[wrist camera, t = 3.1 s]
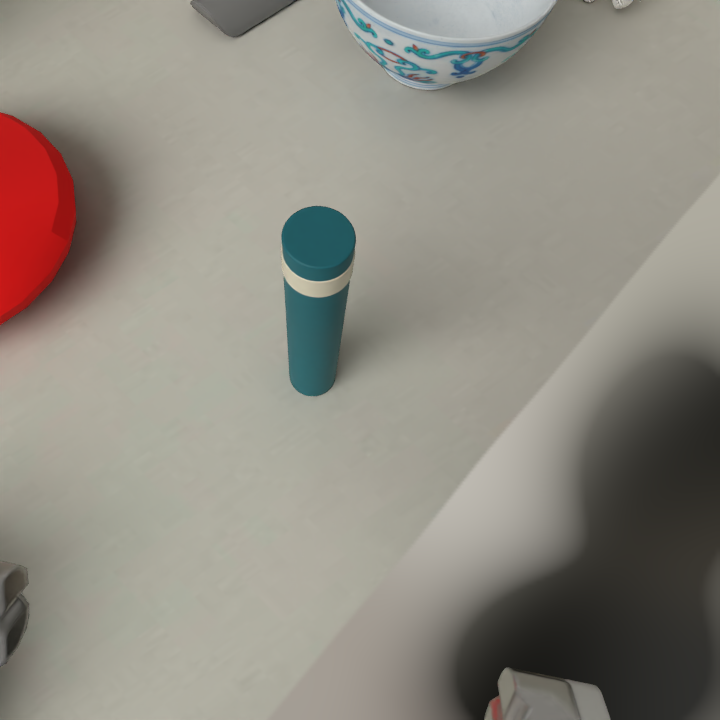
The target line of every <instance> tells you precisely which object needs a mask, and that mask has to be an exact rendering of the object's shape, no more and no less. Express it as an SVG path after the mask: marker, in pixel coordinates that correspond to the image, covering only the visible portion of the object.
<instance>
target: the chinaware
mask: <svg viewBox="0 0 720 720" xmlns="http://www.w3.org/2000/svg"><path fill="white" fill-rule="evenodd" d="M556 2H557V0H336V3H337V6H338V8H339V11H340V13H341V16H342V18H343V20H344V22H345V24H346V26H347V28H348V29H349V31H350V33H351V34H352V36H353V37H354V38H355V40H356V41H357V43H358V44H359V45H360V46H361V47H362V49H363V50H364V51H365V52H366V53H367V54H368V55H369V56H370V57H371V58H372V59H374V60H375V61H376V62H377V63H378V64H380V65H381V66H383V68H384V69H385V71H386V72H387V73H388V74H389V75H390V76H391V77H392V78H394V79H395V80H397V81H398V82H400V83H402V84H404V85H406V86H409V87H412V88H416V89H422V90H437V89H442V88H445V87H448V86H450V85H452V84H454V83H458V82H462V81H466V80H470V79H473V78H476V77H478V76H481V75H483V74H485V73H487V72H489V71H491V70H493V69H495V68H496V67H498V66H499V65H501V64H502V63H504V62H505V61H507V60H508V59H509V58H510V57H512V56H513V55H514V54H515V53H516V52H517V51H518V50H520V49H521V48H522V47H523V46H524V45H525V44H526V42H527V41H528V40H529V39H530V38H531V37H532V36H533V35H534V33H535V32H536V31H537V30H538V29H539V27H540V26H541V25H542V23H543V22H544V20H545V19H546V18H547V16H548V15H549V13H550V12H551V10H552V9H553V7H554V5H555V4H556Z"/></svg>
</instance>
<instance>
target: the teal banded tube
mask: <svg viewBox="0 0 720 720" xmlns="http://www.w3.org/2000/svg"><path fill="white" fill-rule="evenodd" d="M355 243H356V236H355V231H354V228H353V226H352V224H351V223H350V221H349V220H348V219H347V218H346V217H345V216H344V215H343V214H341V213H340V212H338V211H336V210H334V209H332V208H328V207H323V206H312V207H307V208H304V209H301V210H299V211H297V212H296V213H294V214H293V215H292V216H291V217H290V218H289V219H288V220H287V222H286V223H285V225H284V227H283V230H282V246H281V260H282V271H283V275H284V288H285V305H286V322H287V340H288V357H289V374H290V380H291V383H292V385H293V387H294V388H295V389H296V390H297V391H298V392H300V393H302V394H304V395H307V396H318V395H321V394H323V393H325V392H327V391H328V390H329V389H330V388H331V387H332V385H333V383H334V381H335V376H336V369H337V363H338V356H339V349H340V343H341V336H342V329H343V323H344V316H345V310H346V303H347V296H348V290H349V283H350V278H351V276H352V272H353V265H354V259H355Z"/></svg>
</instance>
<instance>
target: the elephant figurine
mask: <svg viewBox="0 0 720 720" xmlns="http://www.w3.org/2000/svg"><path fill="white" fill-rule="evenodd" d="M584 1H586V2H593V1H594V0H584ZM633 1H634V0H612V2H613V6H614V7H615V8H617V9H621V8H624V7H626V6H628V5H629V4H630V3H631V2H633ZM640 2H641V0H640Z"/></svg>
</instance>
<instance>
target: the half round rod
mask: <svg viewBox="0 0 720 720" xmlns="http://www.w3.org/2000/svg"><path fill="white" fill-rule="evenodd" d="M293 1H295V0H193V1H191V3H190V4H191V5H192V7H193V8H194V9H196V10H197V11H198V12H199V13H201V14H202V15H203V16H204V17H205V18H207V19H208V20H209V21H210V22H211V23H213V24H214V25H215V26H216V27H218V28H219V29H220V30H221V31H222V32H224V33H225V34H227V35H229V36H233V37H234V36H239V35H240V34H242V33H244V32H245V31H247V30H248V29H250V28H252V27H253V26H255V25H256V24H258V23H260V22H261V21H263V20H265V19H266V18H268V17H269V16H271V15H273V14H274V13H276V12H277V11H279V10H281V9H282V8H284V7H285V6H287V5H289V4H290V3H292V2H293Z"/></svg>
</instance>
